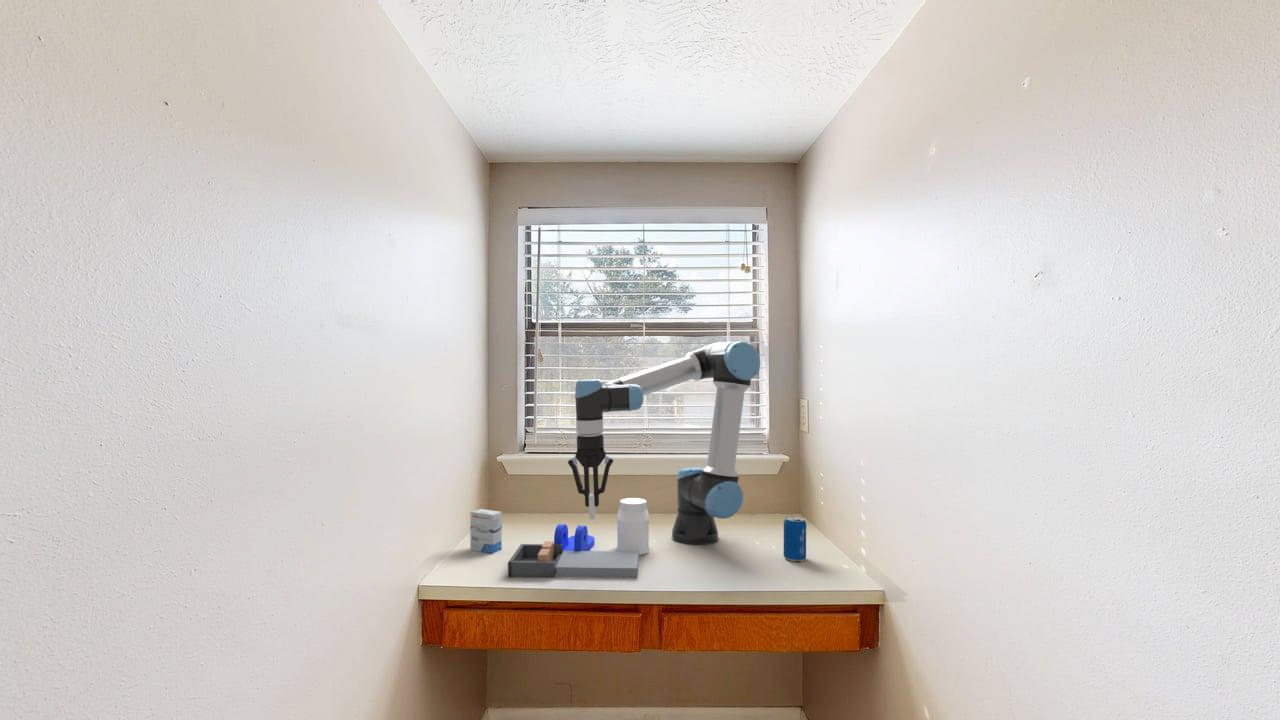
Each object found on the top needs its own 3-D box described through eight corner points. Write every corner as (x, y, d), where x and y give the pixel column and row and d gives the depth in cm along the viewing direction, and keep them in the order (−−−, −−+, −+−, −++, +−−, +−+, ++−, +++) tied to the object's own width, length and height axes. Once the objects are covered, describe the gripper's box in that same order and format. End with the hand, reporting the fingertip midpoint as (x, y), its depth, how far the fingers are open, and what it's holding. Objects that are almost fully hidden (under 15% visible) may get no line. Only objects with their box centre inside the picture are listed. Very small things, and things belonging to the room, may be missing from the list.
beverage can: (793, 564, 174) (794, 522, 174) (778, 557, 180) (779, 517, 180) (810, 560, 177) (811, 519, 177) (795, 554, 183) (795, 514, 183)
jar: (648, 555, 181) (649, 505, 181) (616, 555, 181) (617, 505, 181) (648, 543, 193) (648, 496, 193) (617, 543, 193) (618, 496, 193)
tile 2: (550, 549, 169) (541, 548, 169) (547, 554, 164) (537, 554, 164) (550, 566, 169) (541, 566, 169) (546, 573, 164) (537, 573, 164)
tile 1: (553, 541, 176) (545, 541, 176) (550, 546, 171) (541, 546, 171) (553, 558, 176) (544, 558, 176) (550, 564, 171) (541, 564, 171)
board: (638, 560, 177) (638, 551, 177) (637, 577, 163) (637, 568, 163) (563, 559, 177) (563, 550, 177) (555, 576, 163) (555, 567, 163)
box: (562, 558, 178) (563, 544, 178) (554, 577, 162) (554, 562, 162) (521, 557, 179) (521, 544, 179) (507, 577, 163) (508, 562, 163)
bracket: (581, 560, 177) (581, 529, 177) (553, 558, 179) (554, 527, 179) (597, 542, 195) (597, 514, 195) (572, 540, 197) (572, 512, 197)
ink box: (502, 549, 186) (502, 511, 186) (492, 554, 182) (492, 514, 182) (480, 545, 190) (480, 508, 190) (469, 550, 185) (469, 511, 185)
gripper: (613, 432, 174) (616, 513, 175) (568, 433, 175) (571, 514, 175) (612, 435, 167) (614, 521, 167) (565, 437, 167) (567, 522, 167)
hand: (592, 517), depth 171 cm, fingers closed
